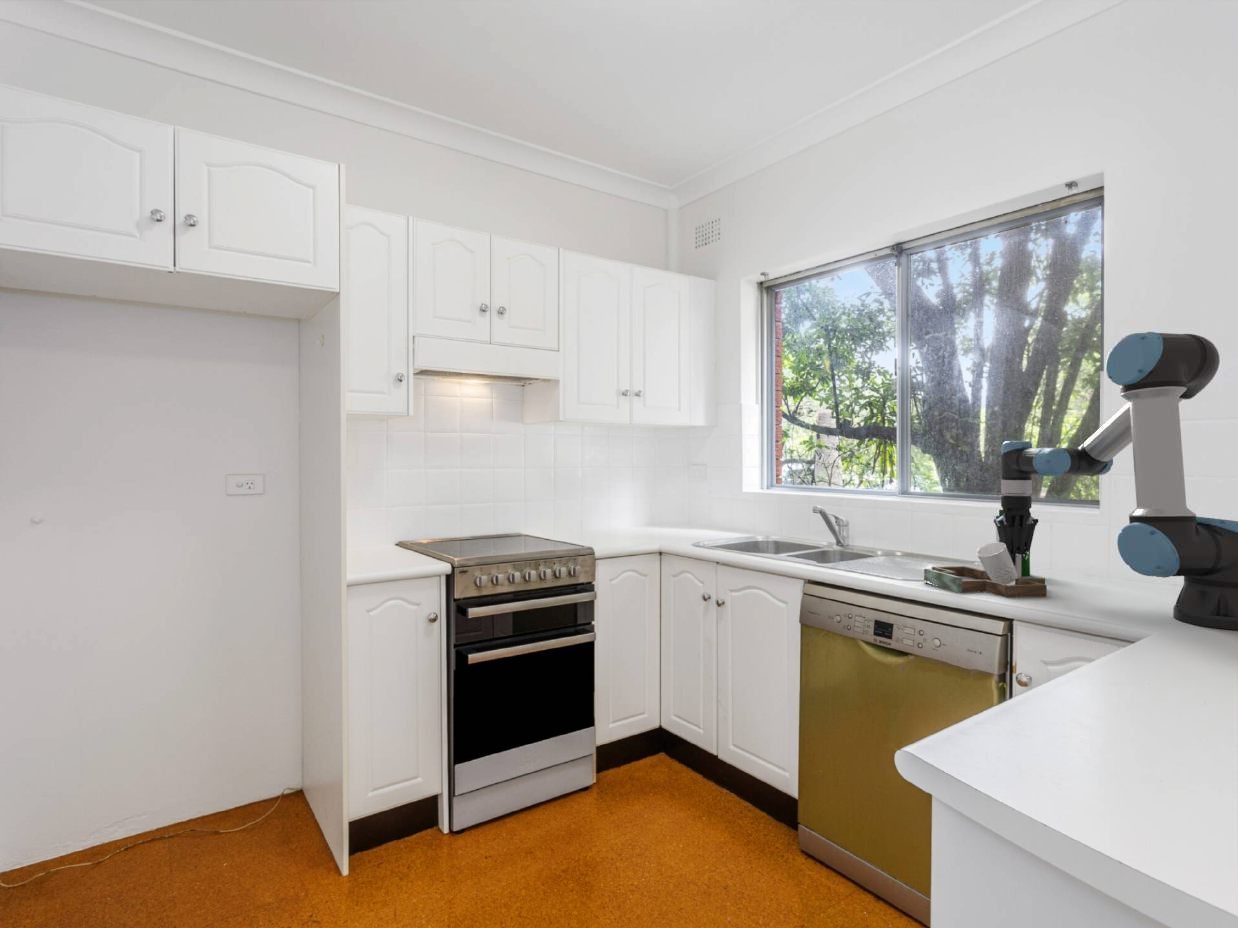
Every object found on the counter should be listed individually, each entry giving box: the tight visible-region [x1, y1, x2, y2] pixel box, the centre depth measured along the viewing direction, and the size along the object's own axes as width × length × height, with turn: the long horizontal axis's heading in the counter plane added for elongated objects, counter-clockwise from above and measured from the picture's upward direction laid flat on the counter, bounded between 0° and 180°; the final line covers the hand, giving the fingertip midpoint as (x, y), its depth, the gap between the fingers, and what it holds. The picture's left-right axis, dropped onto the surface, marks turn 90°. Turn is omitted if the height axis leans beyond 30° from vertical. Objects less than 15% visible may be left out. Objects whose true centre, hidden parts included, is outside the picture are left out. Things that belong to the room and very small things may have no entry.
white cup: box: [975, 541, 1018, 585], centre depth 192 cm, size 8×8×10 cm
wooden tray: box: [923, 565, 1047, 599], centre depth 191 cm, size 31×27×4 cm
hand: (1015, 576), depth 193 cm, fingers closed
